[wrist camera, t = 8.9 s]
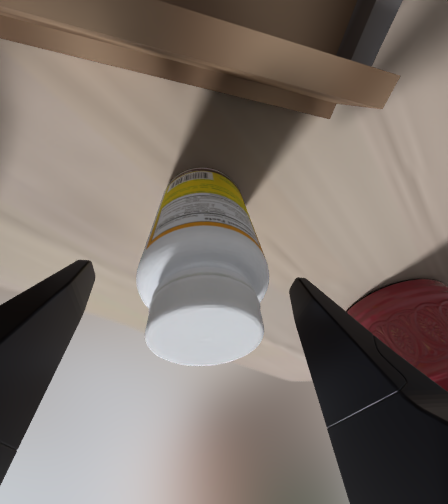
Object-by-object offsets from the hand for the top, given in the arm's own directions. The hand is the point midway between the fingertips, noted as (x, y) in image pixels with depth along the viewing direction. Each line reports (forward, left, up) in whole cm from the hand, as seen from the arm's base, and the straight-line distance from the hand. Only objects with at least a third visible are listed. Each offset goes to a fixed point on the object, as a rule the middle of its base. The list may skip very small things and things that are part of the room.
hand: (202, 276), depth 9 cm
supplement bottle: (0, 0, -7) cm, 7 cm away
